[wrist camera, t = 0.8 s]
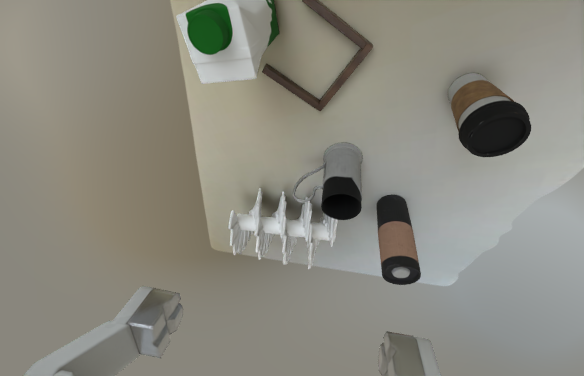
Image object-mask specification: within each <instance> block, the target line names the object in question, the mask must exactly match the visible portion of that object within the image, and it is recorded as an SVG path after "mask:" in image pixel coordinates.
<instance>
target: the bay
mask: <svg viewBox="0 0 584 376" xmlns="http://www.w3.org/2000/svg"><path fill="white" fill-rule="evenodd" d="M302 1H303V2H304V3H305V4H307V5H308V6H309V7H310V8H312V9H313V10H314V11H315V12H317V13H318V14H319V15H320V16H322V17H323V18H324V19H325V20H327V21H328V22H329V23H330V24H332V25H333V26H334V27H335V28H337V29H338V30H339V31H340V32H342V33H343V34H344V35H345V36H347V37H348V38H349V39H350V40H352V41H353V42H354V43H355V44H357V45H358V46H359V47H360V48H361V49H360V50H359V51H358V52H357V54H356V55H355V56H354V58H353V59H352V60H351V61H350V63H349V64H348V65H347V66H346V68H345V69H344V70H343V71H342V73H341V74H340V75H339V77H338V78H337V79H336V80H335V82H334V83H333V84H332V85H331V87H330V88H329V89H328V90H327V92H326V93H325V94H324V96H323V97H322V98H321V99H320V101H319V100H318V99H317V98H315V97H314V96H313V95H311V94H310V93H308V92H307V91H305V90H304V89H303V88H301V87H300V86H298V85H297V84H295V83H294V82H292V81H291V80H290V79H288V78H287V77H285V76H284V75H282V74H281V73H279V72H278V71H277V70H275V69H274V68H272V67H271V66H269V65H268V64H266V66H265V68H264V69H263V71H262V72H263V73H264V74H266V75H267V76H269V77H270V78H271V79H273V80H274V81H276V82H277V83H279V84H280V85H282V86H283V87H285V88H286V89H288V90H289V91H291V92H292V93H294V94H295V95H297V96H298V97H299V98H301V99H302V100H304V101H305V102H307V103H308V104H310V105H311V106H313V107H314V108H316V109H317V110H319V111H321V110H322V109H323V108H324V107H325V105H326V104H327V103H328V102H329V101H330V99H331V98H332V97H333V96H334V94H335V93H336V92H337V91H338V90H339V88H340V87H341V86H342V85H343V84H344V82H345V81H346V80H347V79H348V77H349V76H350V75H351V74H352V73H353V71H354V70H355V69H356V68H357V66H358V65H359V64H360V63H361V62H362V60H363V59H364V58H365V57H366V55H367V54H368V53H369V52H370V51H371V49H372V48H373V45H372V44H371V43H370V42H369V41H368V40H366V39H365V38H364V37H363V36H362V35H360V34H359V33H358V32H357V31H355V30H354V29H353V28H352V27H351V26H349V25H348V24H347V23H346V22H344V21H343V20H342V19H341V18H340V17H338V16H337V15H336V14H335V13H333V12H332V11H331V10H330V9H329V8H327V7H326V6H325V5H324V4H323V3H321V2H320V1H319V0H302Z"/></svg>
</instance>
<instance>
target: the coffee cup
mask: <svg viewBox="0 0 584 376" xmlns="http://www.w3.org/2000/svg"><path fill="white" fill-rule="evenodd" d="M448 98H449V101H450V104H451V108H452V111H453V115H454V118H455V122H456V125H457V129H458V131H459V139H460V141H461V143H462V145H463V146H464V147H465V148H466V149H468V150H469V151H470V152H471V153H472V154H474V155H476V156H480V157H494V156H499V155H503V154H506V153H509V152H511V151H513V150H514V149H516V148H518V147H519V146H520V145H522V144H523V143H524V142H525V141H526V139H527V138H528V136H529V135H530V131H531V124H530V121H529V115H528V113H527V112H526V110H525V108H524V107H523V106H522V105H520V104H519V103H516V102H514V101H513V100H512V99H511V98H510V97H508V96H507V95H506V94H504V93H503V92H502V91H501V90H499V89H498V88H497V87H496V86H494V85H493V84H492V83H490V82H489V81H488V80H487V79H486V78H484V77H483V76H482V75H480V74H477V73H469V74H465V75H463V76H461V77H459V78H458V79H456V80H455V81H454V82H453V83H452V85H451V86H450V88H449V91H448Z"/></svg>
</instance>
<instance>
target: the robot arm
mask: <svg viewBox="0 0 584 376" xmlns="http://www.w3.org/2000/svg"><path fill="white" fill-rule="evenodd" d="M180 299H181V297H180V294H179V293H176V292H171V291H166V290H160V289H156V288H151V287H146V286H142V287H141V288H139V289H138V290H137V292H136V293H135V294H134V295H133V297H132V298H131V299H130V300H129V301H128V303H127V304H126V305H125V306H124V307H123V309H122V310H121V311H120V313H119V314H118V315H117V316H116V317H115V319H114V320H113V321H107V322H106V323H104V324H102V325H100V326H99V327H97V328H95V329H93V330H92V331H90V332H88V333H86V334H85V335H83V336H81V337H79V338H77V339H76V340H74V341H72V342H71V343H69V344H67V345H65V346H63V347H62V348H60V349H58V350H56V351H55V352H53V353H51V354H50V355H48V356H46V357H44V358H42V359H40V360H39V361H37V362H35V363H34V364H33V365H32V367H31V368H30V369H29V370H28V371H27V372H26V373H25V374H24V375H23V376H115V375H116V374H118V373H119V372H120V371H121V370H123V369H124V368H125V367H126V366H128V365H129V364H130V363H131V362H132V361H134V360H135V359H136V358H137V357H139V356H140V355H139V354H142V355H148V356H153V357H158V358H161V356H162V355H163V353H164V351H165V350H166V348H167V346H168V344H169V343H170V334H172V333H173V332H175V331H176V330H177V328H178V327H179V325H180V322H181V319H182V316H183V307H182V305H181V304H180V303H179V301H180ZM378 367H379V372H380V374H381V375H382V376H441V374H440V371H439V367H438V363H437V360H436V357H435V353H434V350H433V347H432V343H431V341H430V340H429V339H425V338H419V337H414V336H410V335H404V334H398V333H392V332H386V333H385V335H384V343H382V344H381V345H380V348H379V355H378Z"/></svg>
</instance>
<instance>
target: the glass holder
mask: <svg viewBox="0 0 584 376" xmlns="http://www.w3.org/2000/svg"><path fill="white" fill-rule="evenodd" d="M362 159H363V157H362V153H361V151H360V150H359V148H357V147H356V146H355V145H353V144H350V143H337V144H334V145H332V146H330V147H329V148H328V149H327V150H326V151H325V153H324V163H323V165H322V166H321V167H319V168H317V169H315V170H313V171H311V172H309V173H307V174H306V175H304V176H303V177H302V178H300V180H299V181H298V182H297V183H296V185H295V187H294V190H293V197H294V199H295V200H296V201H298V202H302V203H305V202H308V201H310V200H312V199H313V197H314V195H315V191H316V190H317V189H323V195H322V205H321V207H322V210H323V212H324V213H325V214H326V215H327V216H329V217H331V218H333V219H337V220H348V219H351V218H354V217H356V216H357V215H358V214H359V213H360V211H361V201H362V185H361V163H362ZM323 168H324V177H323V186H316V187H315V188H314V190H313V194H312V195H311V196H310V197H309V198H307V199H304V200H302V199H298V198H296V197H295V191H296V188H297V187H298V185H299V184H300V183H301V182H302V181H303V180H304V179H305V178H306V177H308V176H310V175H312V174H314V173H316V172H318V171H320V170H321V169H323Z"/></svg>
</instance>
